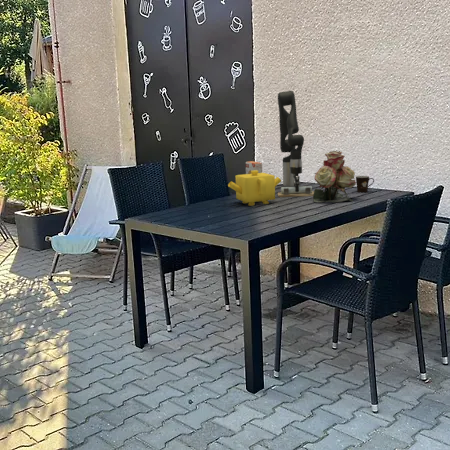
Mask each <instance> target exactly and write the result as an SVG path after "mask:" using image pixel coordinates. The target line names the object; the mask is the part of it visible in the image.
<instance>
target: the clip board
mask: <svg viewBox="0 0 450 450" xmlns="http://www.w3.org/2000/svg"><path fill="white" fill-rule="evenodd" d="M313 195H314V190H312V193H310V187H309V188H305V193H294V194H289V188H284V194H281V192H277V196H278V198H292V197H293V198H294V197H296V198H297V197H313Z"/></svg>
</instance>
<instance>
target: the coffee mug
mask: <svg viewBox="0 0 450 450" xmlns="http://www.w3.org/2000/svg"><path fill="white" fill-rule="evenodd" d="M371 179H372V182H371V183H370V184H369V181H370V180H371ZM355 182H356V191H357V192H356V193H360V192H361V193H362V194H363V192H365V193H368V189H369V187H371V186H372V185H373V184H374V182H375V179H374V178H373V177H370V176H367V175H356V176H355Z"/></svg>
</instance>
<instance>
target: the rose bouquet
mask: <svg viewBox="0 0 450 450" xmlns="http://www.w3.org/2000/svg"><path fill="white" fill-rule="evenodd" d="M342 153H343V152H342V151H341V150H338V151H337V150H331V151H329V152H327V153H325V154H324V156H325V157H326V158H327V159H326V160H325V159H324V160H323V165H322V166H321V167H320V168H319V169H318V171H316V172H315V173H314V181H315V182H316V184H318V185H319V186H318V188H314V190H313V191H314V195H313V196H312V198H313V199H312V200H313V202H314V203H327V202H328V203H341V202H345V201H350V202H354V199H351V197H350V198H349V196H348V193H347V192H346V188H349V189H352V188H353V187H355V186H357V184H356V177H355V174H356V173H355V170H353V169H351V168H350V167H349V166H344V165H345V161H346V160H345V159H344V158H345V155H344V154H342ZM323 189H324V190H323ZM339 191H341V192H342V193H344V194H345V195H344V194H342V193H340V192H339ZM343 196H345V197H343Z"/></svg>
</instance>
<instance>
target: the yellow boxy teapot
mask: <svg viewBox="0 0 450 450" xmlns="http://www.w3.org/2000/svg"><path fill="white" fill-rule="evenodd" d="M251 173H252V174H246V173H243V174H237V175H235V182H233V181H230V182H229V183H228V184H227V186H228V188H230V189H232V190H234V191H235V193H236V194H235V195H236V196H235V198H236V200H238V201H241V203H242V204H248V205H247V206H255V204H256V202H258V203H262V205H269V204H270V202H269V201H273V200H276V187H277V185H279V184H280V183H281V182H282V179H281V178H279V176H277V177H275V176H276V175H273V174H270V173H267V172H262V173H258V171H257V170H253V171H251Z"/></svg>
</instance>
